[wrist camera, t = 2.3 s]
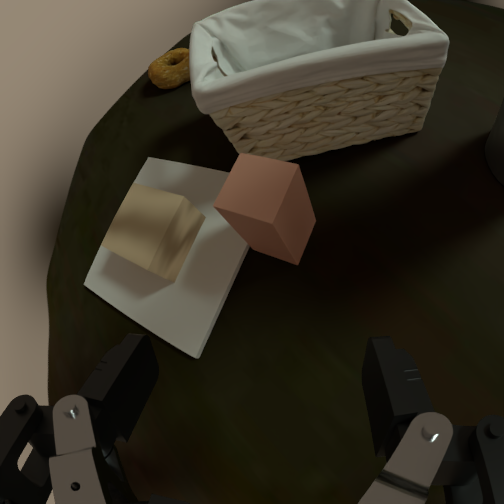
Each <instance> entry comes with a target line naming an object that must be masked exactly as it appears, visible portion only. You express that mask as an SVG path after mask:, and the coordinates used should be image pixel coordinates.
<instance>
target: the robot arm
mask: <svg viewBox="0 0 504 504" xmlns="http://www.w3.org/2000/svg"><path fill="white" fill-rule="evenodd" d="M485 157H486V161H487V163H488V166H489V168H490V169H491V171H492V173H493V174H494V176H495V177H496V178H497V180H498V181H499V182H500V183H501V184H502V185H503V186H504V99H503V102H502V105H501V107H500V110H499V112H498V115H497V118H496V120H495V122H494V125H493V127H492V129H491V132H490V134H489V136H488V139H487V141H486V144H485ZM158 375H159V366H158V363H157V359H156V356H155V353H154V350H153V347H152V344H151V340H150V338H149V336H147V335H141V334H131V333H129V334H127V335H126V337H125V338H124V340H123V341H122V342H121V344H120V345H116V346H114V347H113V348H112V349H110V350H109V351H108V352H106V354H105V355H104V357H103V358H102V359H101V362H100V363H99V364H98V365H97V366H96V368H95V370H93V372H92V373H91V375H90V376H89V378H88V379H87V380H86V382H85V383H84V385H83V386H82V388H81V389H80V390H79V392H78V393H77V395H69V396H66V397H64V398H62V399H60V400H59V401H58V402H57V403H56V404H55V406H39V405H38V404H37V402H36V401H35V399H34V398H33V397H32V396H29V395H21V396H18V397H16V398H15V399H13V400H12V401H11V402H10V404H9V405H8V406H7V408H6V409H5V411H4V412H3V413H2V415H1V416H0V504H46V502H47V500H48V498H49V495H50V493H51V491H52V489H53V493H54V499H55V504H190V503H188V502H185V501H181V500H176V499H171V498H167V497H163V496H158V495H154V494H151V497H150V500H149V501H140V502H139V501H138V500H137V498H136V496H135V495H134V493H133V492H132V490H131V488H130V486H129V483H128V481H127V478H126V475H125V472H124V469H123V466H122V464H121V461H120V457H119V454H118V451H117V448H116V447H115V445H114V442H115V440H119V441H122V442H126V443H127V442H128V439H129V437H130V435H131V433H132V431H133V429H134V427H135V425H136V423H137V421H138V418H139V416H140V414H141V412H142V410H143V408H144V406H145V404H146V402H147V400H148V398H149V396H150V394H151V392H152V390H153V388H154V386H155V384H156V381H157V379H158ZM362 386H363V391H364V395H365V400H366V405H367V410H368V416H369V421H370V426H371V432H372V438H373V443H374V449H375V456H376V457H381V456H386V461H387V464H386V466H385V467H384V469H383V470H382V472H381V473H380V474H379V475H378V477H377V478H376V480H375V481H374V482H373V484H372V485H371V487H370V488H369V489H368V491H367V492H366V493H365V495H364V496H363V497H362V499H361V500H360V501H359V503H358V504H424V503H425V501H426V499H427V497H428V494H429V493H428V492H427V491H428V489H429V486H430V485H443V487H444V493H445V500H446V504H504V418H503V417H501V416H498V415H489V416H486V417H484V418H483V419H481V420H480V422H479V423H478V425H477V426H456V425H452V424H451V423H450V421H449V420H448V419H447V418H446V417H445V416H443V415H441V414H439V413H435V411H434V409H433V406H432V404H431V401H430V398H429V396H428V393H427V391H426V388H425V386H424V383H423V381H422V379H421V376H420V374H419V371H418V370H417V366H416V364H415V362H414V359H413V357H412V356H411V355H409V354H408V353H407V352H406V351H405V350H404V349H395V346H394V344H393V341H392V339H391V337H390V336H382V337H370V338H369V339H368V342H367V348H366V353H365V358H364V363H363V368H362ZM28 442H29V443H30V445H32V447H33V449H32V451H31V453H30V455H29V457H28V458H27V460H26V462H25V464H24V466H23V468H22V469H21V471H20V470H19V469H18V465H17V462H18V459H19V457H20V455H21V453H22V451H23V450H24V448H25V446H26V445H27V443H28Z"/></svg>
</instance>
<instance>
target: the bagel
mask: <svg viewBox="0 0 504 504" xmlns="http://www.w3.org/2000/svg"><path fill="white" fill-rule="evenodd" d="M148 75H149V78H150V79H151V81H152V83H153V84H155V85H156V86H157V87H158V88H161V89H173V88H176V87H178V86H180V85H182V84H183V83H185V82H188V81H190V68H189V50H188V49H185V48H178V49H175V50H171V51H169V52H167V53H166V54H164V55H163V56H161V57H159V58H158V59H156V60H155V61H153V62H152V63H151V64H150V66H149V71H148Z"/></svg>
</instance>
